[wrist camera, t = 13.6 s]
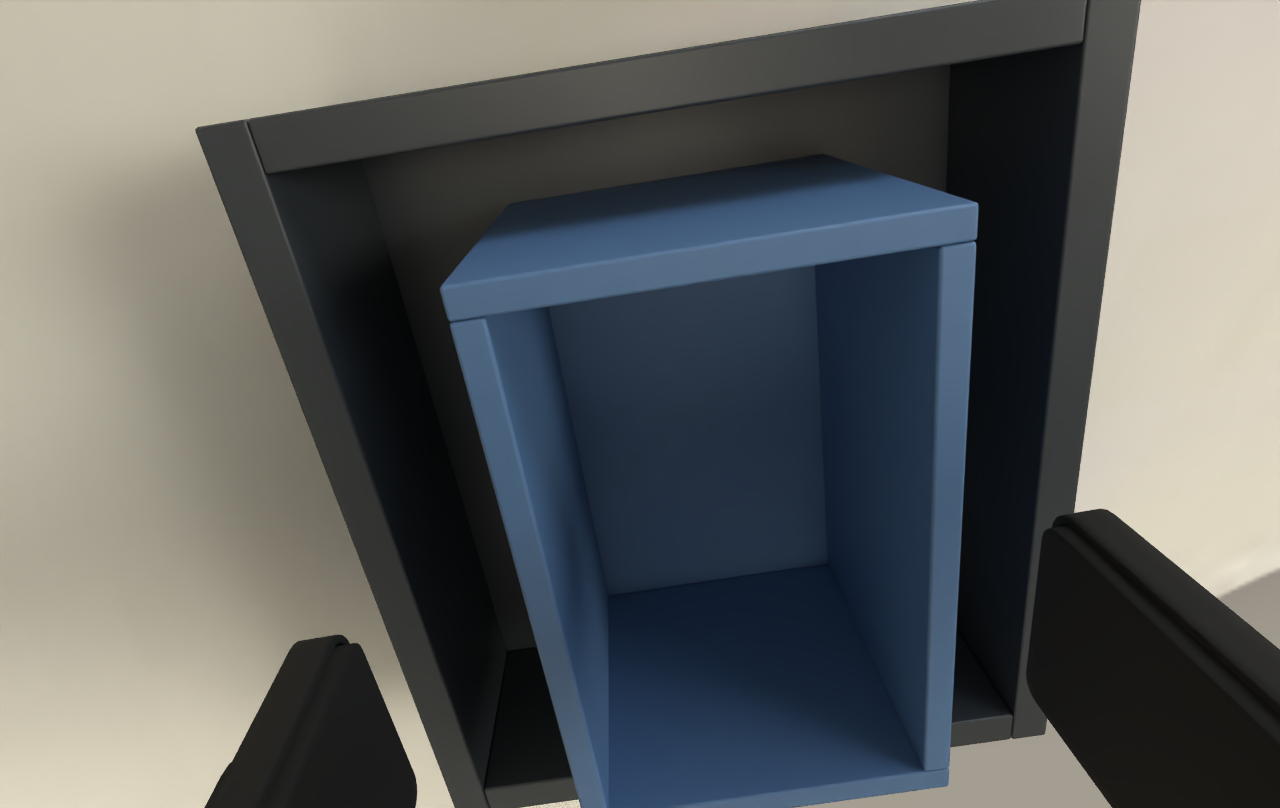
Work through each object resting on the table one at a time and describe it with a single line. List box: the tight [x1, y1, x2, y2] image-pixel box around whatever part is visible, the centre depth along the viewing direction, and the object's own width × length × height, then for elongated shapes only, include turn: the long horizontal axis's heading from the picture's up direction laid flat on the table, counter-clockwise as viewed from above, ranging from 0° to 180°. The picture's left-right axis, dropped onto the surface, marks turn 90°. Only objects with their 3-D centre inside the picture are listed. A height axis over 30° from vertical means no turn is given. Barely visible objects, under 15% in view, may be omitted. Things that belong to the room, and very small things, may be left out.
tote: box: [195, 0, 1141, 808], centre depth 16 cm, size 14×16×5 cm
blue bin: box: [440, 154, 979, 808], centre depth 14 cm, size 7×11×7 cm, turn 8°
